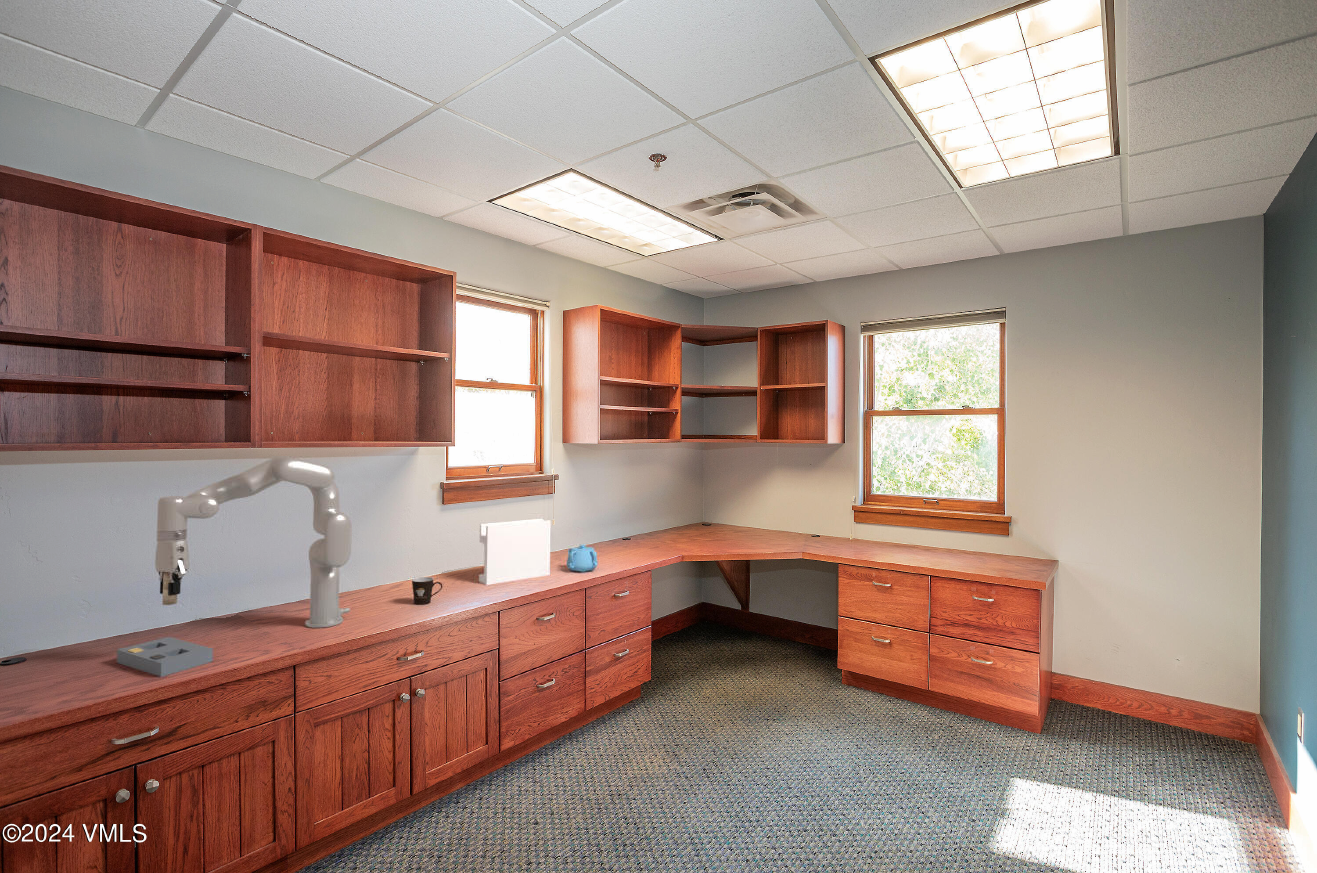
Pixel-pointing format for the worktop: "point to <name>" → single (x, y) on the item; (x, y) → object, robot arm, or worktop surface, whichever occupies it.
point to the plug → (166, 598)
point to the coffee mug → (423, 590)
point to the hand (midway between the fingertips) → (170, 593)
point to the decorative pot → (582, 559)
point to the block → (515, 550)
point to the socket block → (164, 656)
